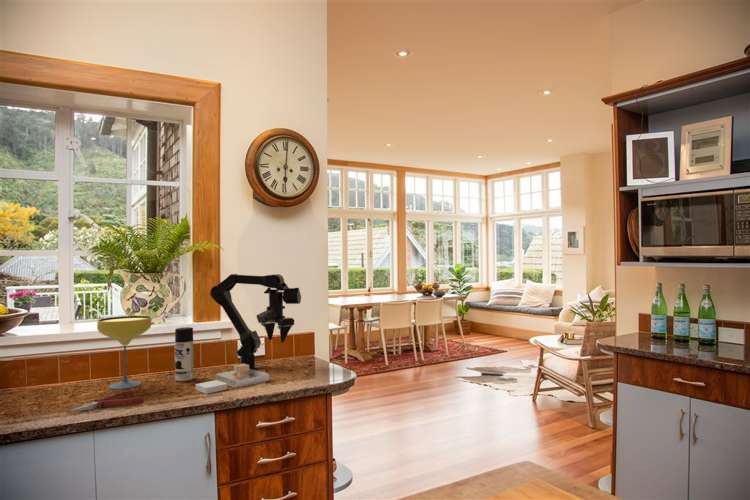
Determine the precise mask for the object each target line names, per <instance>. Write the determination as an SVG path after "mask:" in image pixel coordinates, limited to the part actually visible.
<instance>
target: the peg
mask: <svg viewBox="0 0 750 500" xmlns="http://www.w3.org/2000/svg"><path fill="white" fill-rule="evenodd" d="M233 368H234V370H233V371H234V372H235V376H238V377H239V376H240V377H241V376H246V375H249V365H247V364H240V363H239V364H234V366H233Z"/></svg>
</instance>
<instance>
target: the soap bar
mask: <svg viewBox="0 0 750 500" xmlns="http://www.w3.org/2000/svg"><path fill="white" fill-rule="evenodd" d="M225 390H228V385H227V383H224V382H221V381H218V380H215V379H214V380H209V381H205V382H200V383H196V384H195V391H198V392H200V393H202V394H205V395H208V394H211V393H216V392H220V391H225Z"/></svg>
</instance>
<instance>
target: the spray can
mask: <svg viewBox="0 0 750 500" xmlns="http://www.w3.org/2000/svg"><path fill="white" fill-rule="evenodd" d="M174 331H175V332H174V335H175V336H174V362H175V363H174V367H175V368H174V370H175V371H174V376H175V377H174V378H175V379H174V380H175V381H176V382H190V381H192V380H193V379H194V328H193V327H192V326H191V327H177V328H175V330H174Z"/></svg>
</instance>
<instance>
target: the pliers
mask: <svg viewBox="0 0 750 500" xmlns="http://www.w3.org/2000/svg"><path fill="white" fill-rule="evenodd" d="M144 401H145V400H144V397H143V396H140V395H139V396H136V397H135V392H134V391H132V390H131V391H130V390H129V391H125V392H119V393H115V394H112V395H109V396H106V397H104V398H96V399H94V400H93V402H87V403H84V404H83V403H82V404H80V405H77V406H74V407H70V408H68V411H70V412H71V413H72V412H82V411H84V412H85V411H89V410H90V411H91V410H95V409H98V410H102V409H105V408H106V409H107V408H117V407H119V408H120V407H129V406H133V405H138V404H142V403H144Z"/></svg>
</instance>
